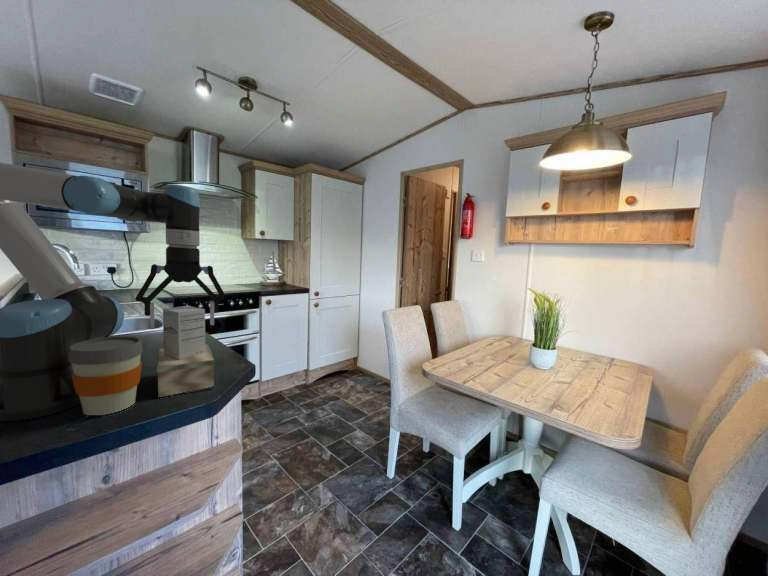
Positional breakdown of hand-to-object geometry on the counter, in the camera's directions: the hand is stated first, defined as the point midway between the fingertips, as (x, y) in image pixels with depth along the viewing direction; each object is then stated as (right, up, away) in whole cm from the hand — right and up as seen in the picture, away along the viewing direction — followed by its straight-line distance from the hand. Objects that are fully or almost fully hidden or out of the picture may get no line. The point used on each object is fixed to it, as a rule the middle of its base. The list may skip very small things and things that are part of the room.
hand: (183, 326), depth 86 cm
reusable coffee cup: (-8, -17, -13) cm, 23 cm away
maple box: (0, -16, +2) cm, 16 cm away
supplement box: (0, -8, +1) cm, 8 cm away
